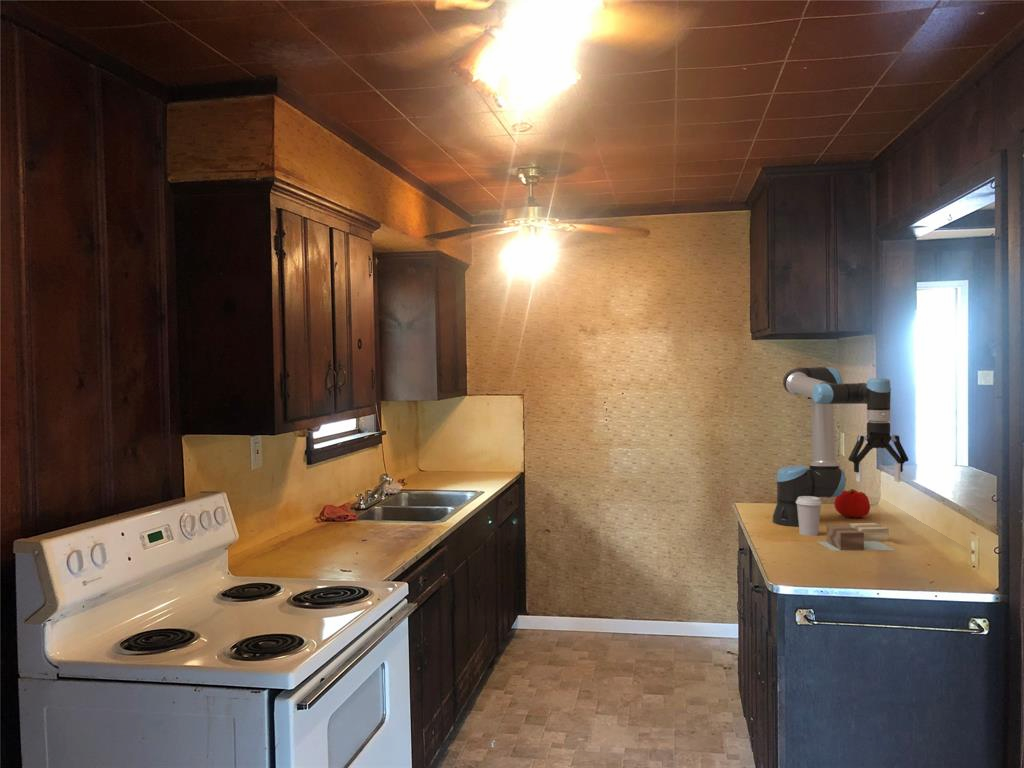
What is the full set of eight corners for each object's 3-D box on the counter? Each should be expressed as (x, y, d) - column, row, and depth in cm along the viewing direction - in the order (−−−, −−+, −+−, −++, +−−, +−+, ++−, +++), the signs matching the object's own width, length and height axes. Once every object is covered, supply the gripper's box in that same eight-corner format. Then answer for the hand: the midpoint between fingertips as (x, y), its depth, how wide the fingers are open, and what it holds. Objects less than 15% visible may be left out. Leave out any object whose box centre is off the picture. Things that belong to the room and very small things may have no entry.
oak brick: (849, 539, 286) (849, 523, 286) (875, 538, 286) (875, 523, 286) (861, 545, 276) (861, 529, 276) (888, 545, 276) (888, 528, 276)
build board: (817, 544, 276) (817, 541, 276) (877, 544, 276) (877, 541, 276) (832, 553, 263) (832, 550, 263) (895, 553, 263) (895, 549, 263)
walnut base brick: (826, 542, 275) (826, 525, 275) (848, 542, 275) (848, 525, 275) (840, 550, 263) (840, 533, 263) (863, 550, 263) (863, 533, 263)
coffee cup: (824, 540, 283) (824, 500, 283) (797, 539, 285) (797, 499, 285) (819, 534, 293) (819, 496, 292) (793, 533, 295) (793, 495, 294)
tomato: (868, 521, 317) (868, 493, 316) (832, 518, 324) (832, 490, 323) (871, 515, 328) (871, 488, 328) (836, 512, 335) (836, 486, 335)
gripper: (847, 422, 264) (847, 483, 265) (919, 422, 264) (919, 482, 265) (838, 421, 272) (838, 480, 273) (908, 420, 272) (907, 479, 272)
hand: (878, 481), depth 269 cm, fingers open, 13 cm apart
